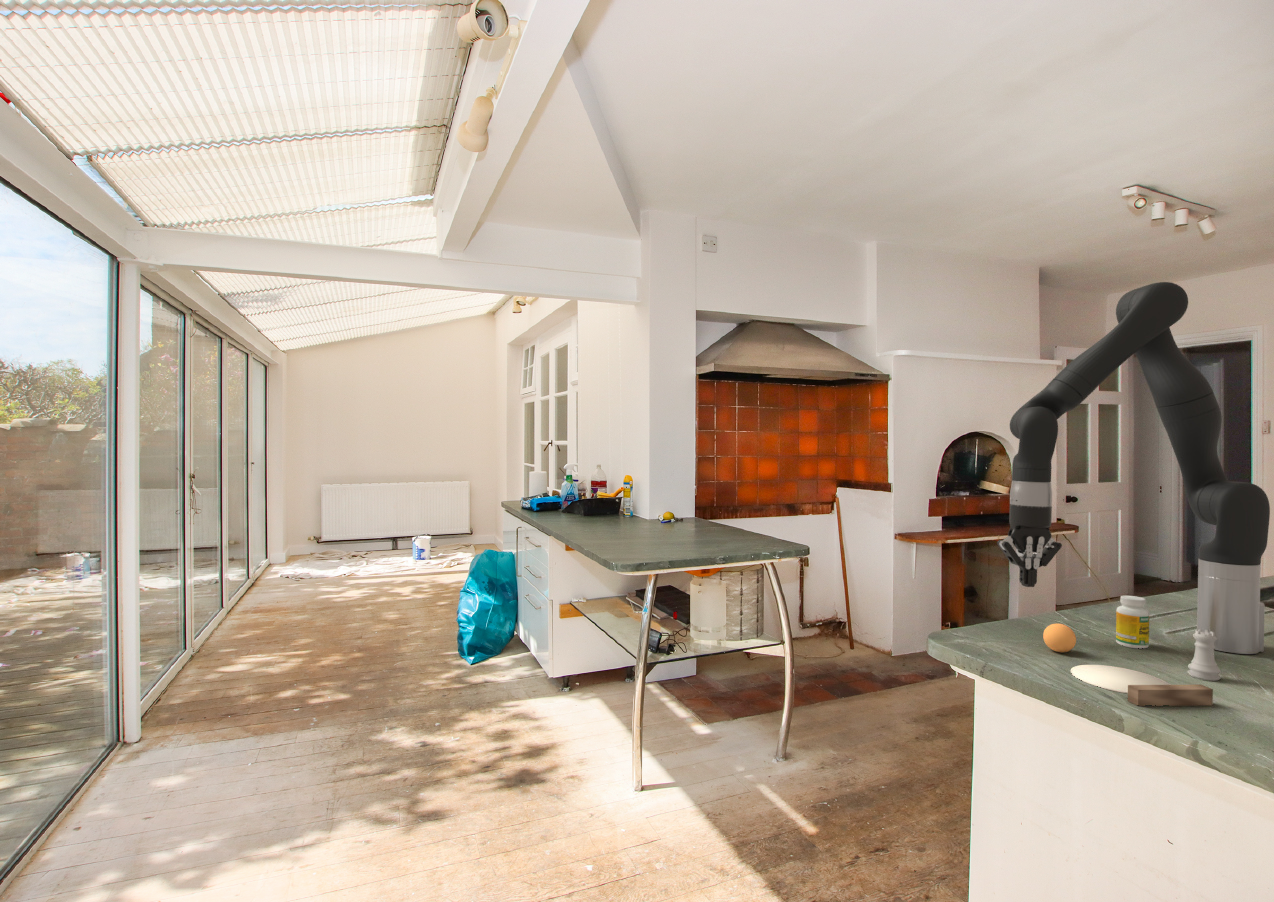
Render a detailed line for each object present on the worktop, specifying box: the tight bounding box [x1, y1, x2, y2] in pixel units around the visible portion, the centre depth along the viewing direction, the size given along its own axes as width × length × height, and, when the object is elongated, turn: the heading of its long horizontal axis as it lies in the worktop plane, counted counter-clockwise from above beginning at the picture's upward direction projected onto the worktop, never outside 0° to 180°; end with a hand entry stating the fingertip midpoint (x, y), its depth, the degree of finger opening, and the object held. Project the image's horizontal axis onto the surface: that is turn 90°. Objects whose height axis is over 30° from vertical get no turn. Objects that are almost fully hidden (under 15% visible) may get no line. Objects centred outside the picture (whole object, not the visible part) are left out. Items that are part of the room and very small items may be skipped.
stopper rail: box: [1127, 684, 1214, 707], centre depth 102 cm, size 12×2×2 cm, turn 93°
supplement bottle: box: [1115, 595, 1150, 650], centre depth 132 cm, size 5×5×10 cm
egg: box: [1042, 623, 1077, 653], centre depth 127 cm, size 5×5×5 cm
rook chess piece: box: [1187, 629, 1222, 682], centre depth 114 cm, size 4×4×8 cm
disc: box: [1070, 664, 1171, 694], centre depth 112 cm, size 14×14×1 cm
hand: (1028, 586), depth 136 cm, fingers closed
